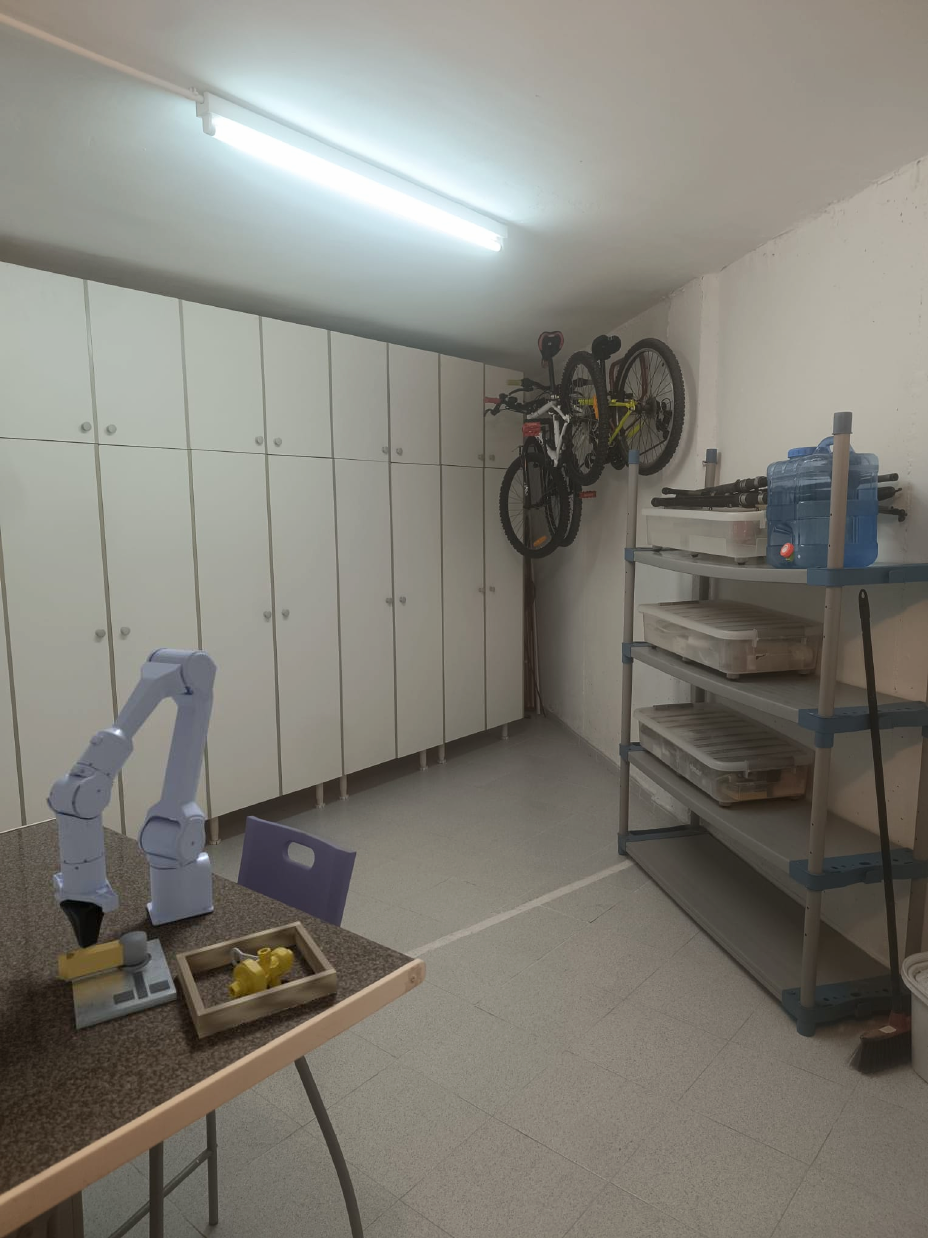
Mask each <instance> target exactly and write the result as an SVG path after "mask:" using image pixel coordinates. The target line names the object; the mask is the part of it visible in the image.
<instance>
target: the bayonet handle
mask: <svg viewBox="0 0 928 1238" xmlns="http://www.w3.org/2000/svg"><path fill="white" fill-rule="evenodd" d="M147 941H148V937H147V932H145V931H141V930H135V931H130V932H127V933H125V934H123V935H121V937H119V939H116V940H112V941H109V942H105V943H101V944H96V945H91V946H89V947H87V948H85V949H84V948H81V949H77V950H73V951H70V952H65V953H62V954H60V955H59V956H58V957H57V962H58V975H59V976H58V978H59V980H60V981H61V980H62V981H65V980H67V979H71V978H75V977H78V976H82V975H86V974H89V973H93V972H97V971H101V970H104V969H108V968H112V967H115V966H119V965H127V966H130V965H136V964H139V963H141V962H143V961H144V960H146V958H147V957H148V953H147Z"/></svg>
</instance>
